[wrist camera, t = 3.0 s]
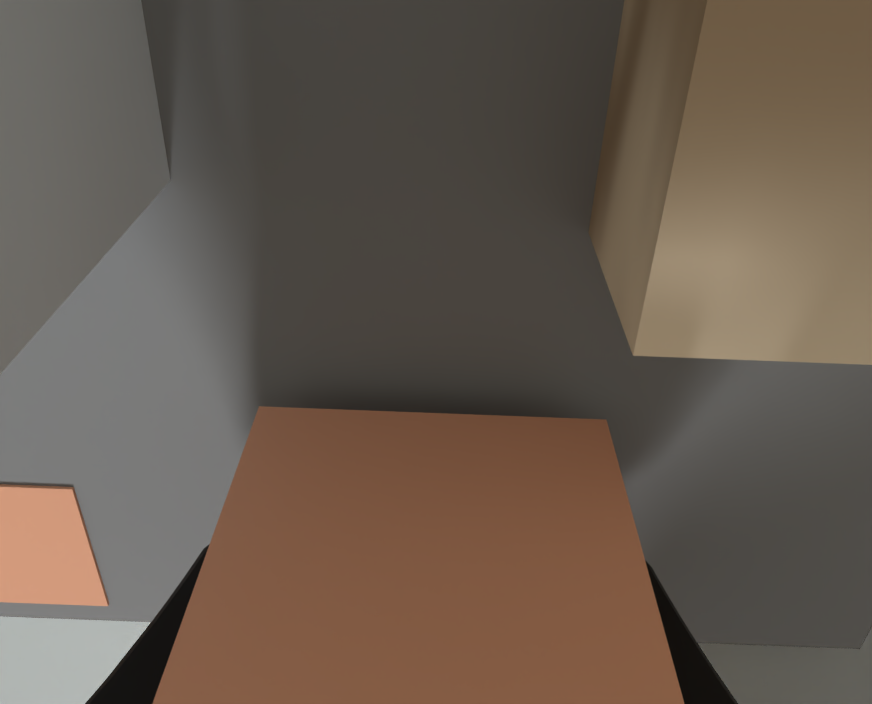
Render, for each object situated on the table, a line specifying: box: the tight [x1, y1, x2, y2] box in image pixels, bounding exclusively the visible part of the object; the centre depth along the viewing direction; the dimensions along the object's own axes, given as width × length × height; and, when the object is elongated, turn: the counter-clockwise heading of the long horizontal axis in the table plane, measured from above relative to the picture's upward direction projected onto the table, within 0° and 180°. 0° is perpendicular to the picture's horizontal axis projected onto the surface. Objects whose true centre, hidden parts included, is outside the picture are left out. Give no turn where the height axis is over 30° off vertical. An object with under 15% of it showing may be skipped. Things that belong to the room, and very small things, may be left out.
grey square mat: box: [0, 0, 872, 649], centre depth 11 cm, size 16×18×1 cm
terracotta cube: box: [153, 406, 684, 704], centre depth 10 cm, size 5×5×5 cm
